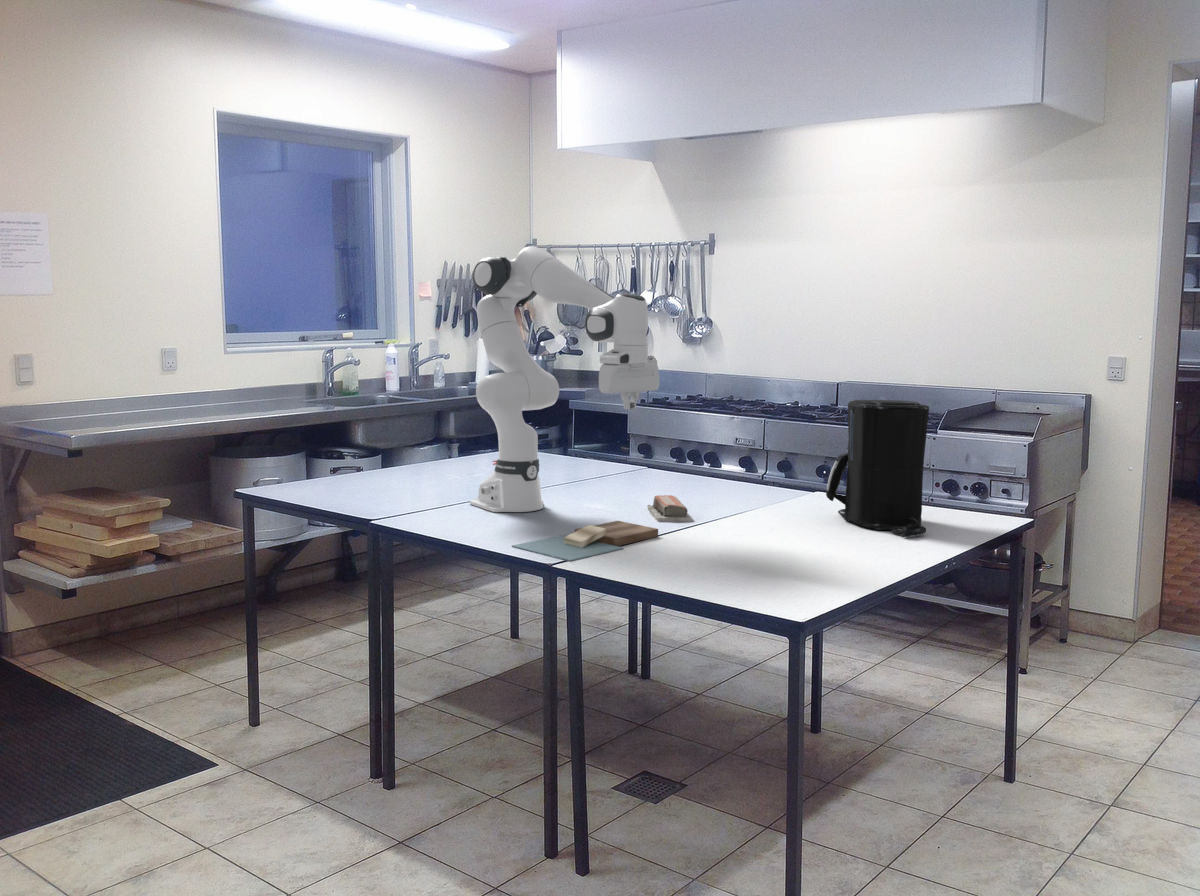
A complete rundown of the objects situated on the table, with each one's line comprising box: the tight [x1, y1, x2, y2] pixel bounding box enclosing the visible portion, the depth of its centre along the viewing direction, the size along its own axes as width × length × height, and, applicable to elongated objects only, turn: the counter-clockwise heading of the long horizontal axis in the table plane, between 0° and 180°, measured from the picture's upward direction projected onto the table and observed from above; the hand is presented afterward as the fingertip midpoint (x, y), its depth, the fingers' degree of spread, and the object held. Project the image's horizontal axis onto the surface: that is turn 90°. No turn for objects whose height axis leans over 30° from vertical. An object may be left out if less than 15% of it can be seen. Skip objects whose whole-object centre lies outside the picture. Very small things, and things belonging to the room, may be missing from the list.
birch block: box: [563, 524, 607, 548], centre depth 254 cm, size 9×6×2 cm, turn 136°
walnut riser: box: [573, 520, 659, 547], centre depth 262 cm, size 14×16×2 cm
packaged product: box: [647, 494, 694, 523], centre depth 291 cm, size 18×5×10 cm
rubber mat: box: [511, 533, 624, 562], centre depth 250 cm, size 20×18×1 cm
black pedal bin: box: [825, 399, 930, 538], centre depth 280 cm, size 23×32×34 cm
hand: (629, 409), depth 272 cm, fingers closed
